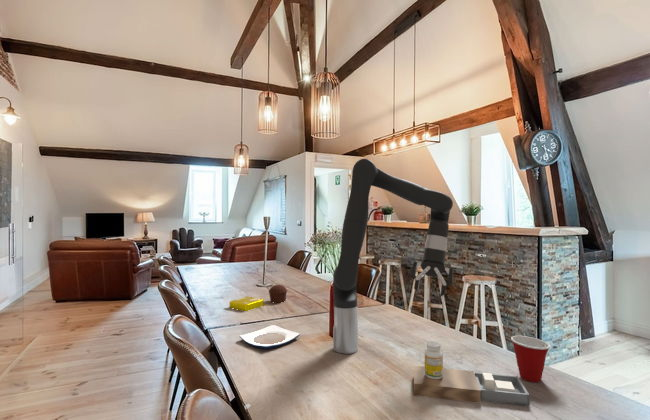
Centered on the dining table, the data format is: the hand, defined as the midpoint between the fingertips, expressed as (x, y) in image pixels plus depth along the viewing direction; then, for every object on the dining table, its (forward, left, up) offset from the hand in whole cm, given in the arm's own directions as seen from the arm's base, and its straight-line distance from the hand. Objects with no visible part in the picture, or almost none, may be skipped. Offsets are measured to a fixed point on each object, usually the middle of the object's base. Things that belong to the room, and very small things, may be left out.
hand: (429, 293), depth 122 cm
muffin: (-88, +69, -25) cm, 114 cm away
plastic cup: (+30, -5, -25) cm, 39 cm away
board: (+3, -18, -24) cm, 31 cm away
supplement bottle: (0, -18, -21) cm, 28 cm away
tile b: (+20, -18, -21) cm, 34 cm away
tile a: (+14, -18, -21) cm, 32 cm away
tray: (+19, -17, -24) cm, 35 cm away
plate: (-66, +8, -25) cm, 71 cm away
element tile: (-101, +54, -25) cm, 117 cm away
